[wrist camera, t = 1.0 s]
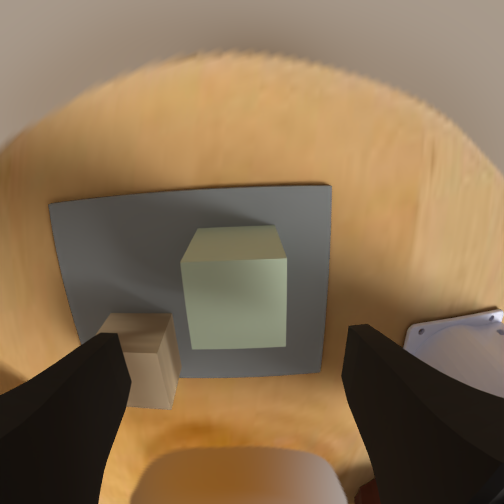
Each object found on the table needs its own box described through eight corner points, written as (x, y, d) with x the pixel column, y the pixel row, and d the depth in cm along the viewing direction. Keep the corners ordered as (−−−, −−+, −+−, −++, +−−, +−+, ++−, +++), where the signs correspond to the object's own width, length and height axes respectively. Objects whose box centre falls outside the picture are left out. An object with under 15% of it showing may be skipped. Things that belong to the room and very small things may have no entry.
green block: (274, 225, 17) (287, 258, 12) (275, 294, 18) (285, 346, 13) (197, 228, 17) (180, 262, 12) (204, 297, 18) (192, 349, 13)
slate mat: (329, 185, 17) (331, 186, 16) (319, 368, 20) (320, 372, 20) (51, 203, 16) (48, 204, 16) (93, 368, 20) (91, 372, 20)
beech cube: (172, 313, 18) (157, 353, 15) (181, 366, 20) (171, 409, 16) (110, 312, 18) (85, 349, 15) (124, 364, 20) (106, 404, 16)
